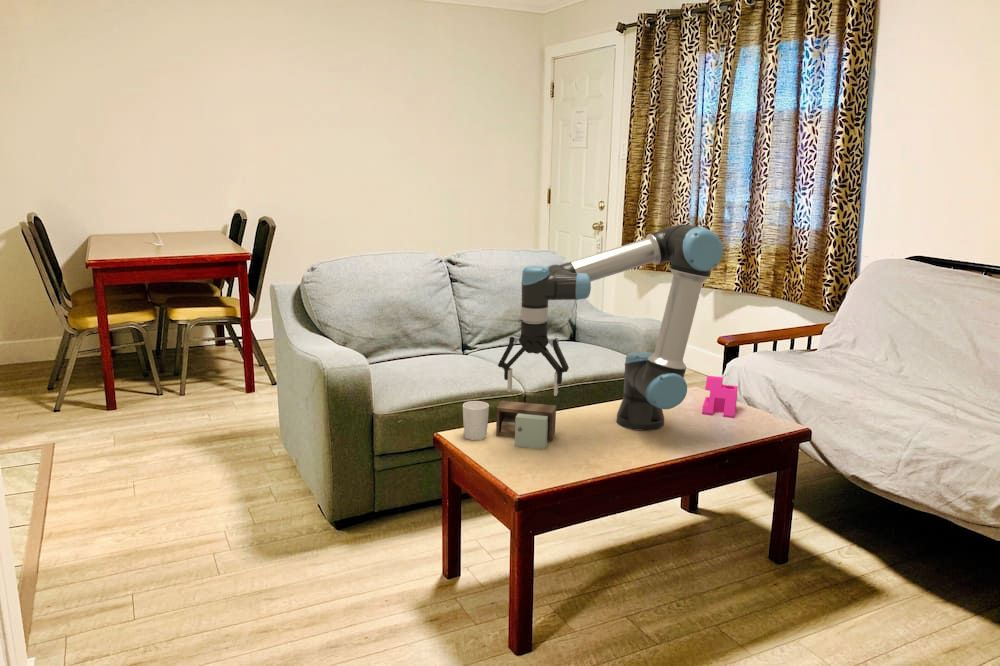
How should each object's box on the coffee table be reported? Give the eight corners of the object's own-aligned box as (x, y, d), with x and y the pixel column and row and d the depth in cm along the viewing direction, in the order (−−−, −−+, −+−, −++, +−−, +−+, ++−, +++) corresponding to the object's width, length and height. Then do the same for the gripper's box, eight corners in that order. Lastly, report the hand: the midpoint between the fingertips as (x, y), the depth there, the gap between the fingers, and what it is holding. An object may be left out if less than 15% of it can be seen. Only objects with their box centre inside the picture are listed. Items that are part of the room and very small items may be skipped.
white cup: (489, 432, 235) (490, 401, 233) (486, 441, 228) (487, 409, 225) (464, 431, 236) (464, 400, 234) (460, 440, 228) (460, 408, 226)
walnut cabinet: (555, 433, 236) (556, 405, 233) (550, 444, 227) (551, 415, 224) (501, 428, 239) (501, 400, 237) (494, 438, 230) (494, 410, 228)
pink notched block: (705, 403, 267) (707, 375, 264) (735, 407, 263) (738, 379, 261) (701, 414, 256) (704, 385, 253) (733, 418, 252) (736, 388, 250)
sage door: (546, 445, 226) (547, 416, 224) (544, 450, 222) (545, 421, 220) (517, 442, 228) (517, 413, 226) (514, 447, 224) (514, 418, 222)
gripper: (579, 320, 218) (577, 392, 223) (494, 315, 223) (493, 385, 228) (576, 326, 211) (573, 399, 216) (488, 321, 216) (487, 392, 221)
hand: (532, 392), depth 222 cm, fingers open, 13 cm apart
